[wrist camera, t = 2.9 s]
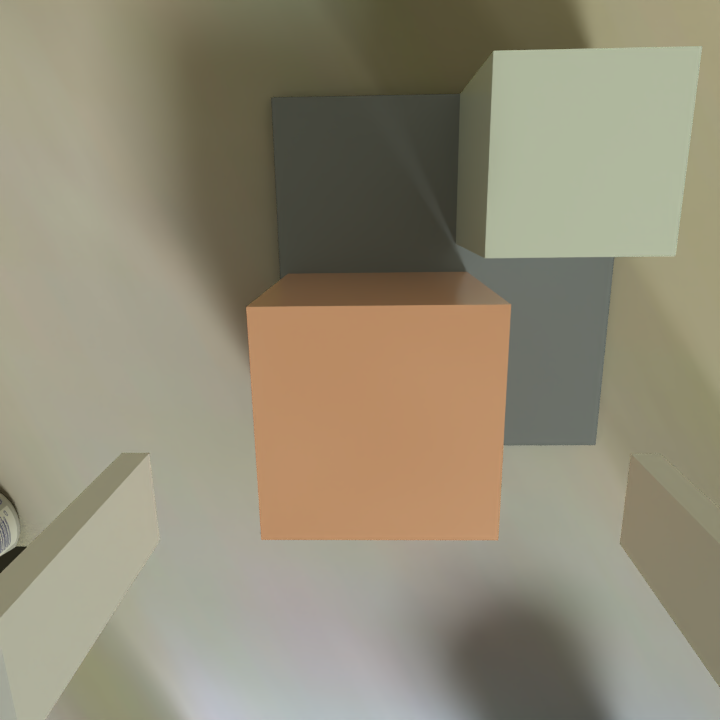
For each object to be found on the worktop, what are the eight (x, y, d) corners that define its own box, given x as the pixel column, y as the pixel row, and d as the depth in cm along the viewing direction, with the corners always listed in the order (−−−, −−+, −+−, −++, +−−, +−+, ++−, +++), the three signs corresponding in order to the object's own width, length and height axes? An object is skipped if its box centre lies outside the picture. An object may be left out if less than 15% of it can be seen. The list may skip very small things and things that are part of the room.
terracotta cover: (295, 439, 32) (261, 539, 23) (287, 273, 30) (246, 306, 20) (460, 438, 32) (498, 540, 22) (466, 271, 30) (511, 304, 20)
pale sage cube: (455, 244, 29) (484, 258, 22) (460, 93, 27) (493, 50, 20) (595, 242, 29) (675, 256, 21) (609, 91, 27) (702, 46, 19)
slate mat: (290, 441, 33) (288, 445, 32) (273, 99, 28) (271, 97, 28) (591, 440, 32) (595, 445, 32) (625, 93, 28) (630, 90, 27)
